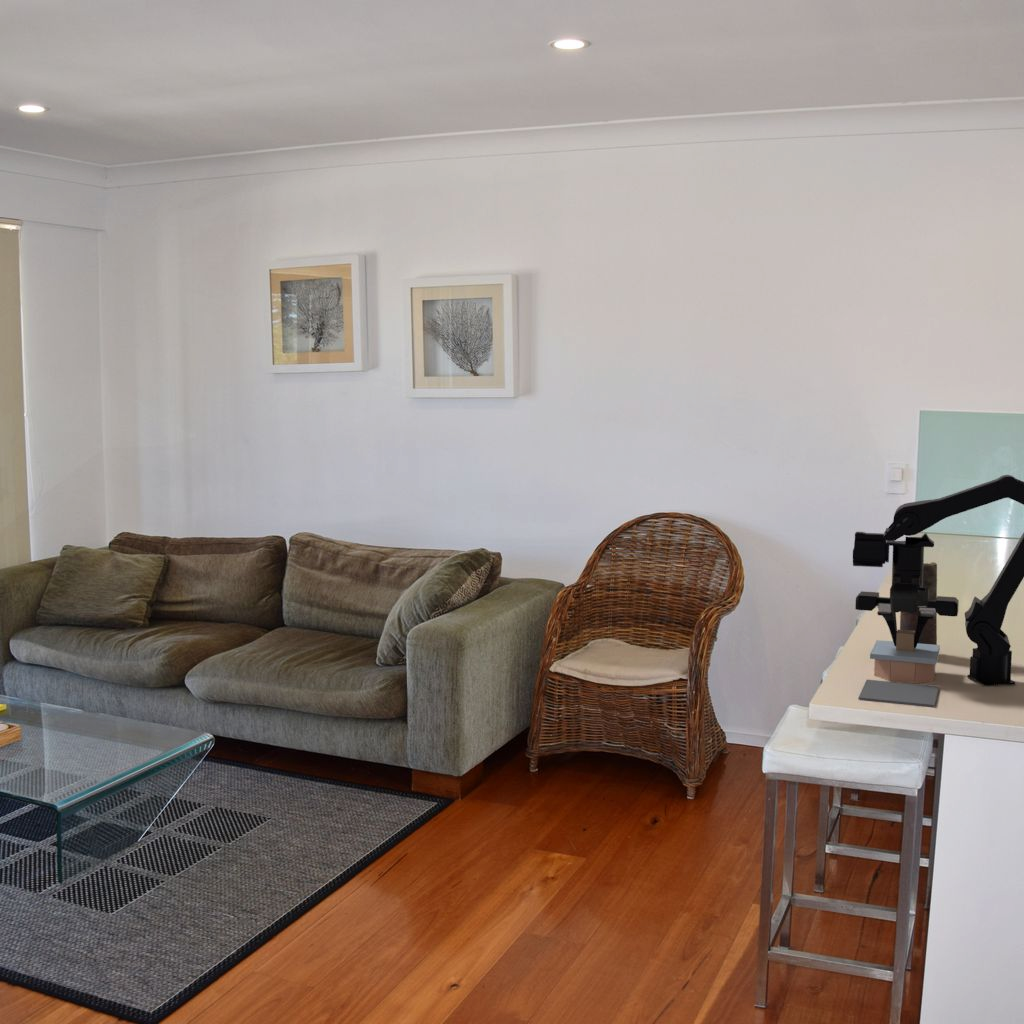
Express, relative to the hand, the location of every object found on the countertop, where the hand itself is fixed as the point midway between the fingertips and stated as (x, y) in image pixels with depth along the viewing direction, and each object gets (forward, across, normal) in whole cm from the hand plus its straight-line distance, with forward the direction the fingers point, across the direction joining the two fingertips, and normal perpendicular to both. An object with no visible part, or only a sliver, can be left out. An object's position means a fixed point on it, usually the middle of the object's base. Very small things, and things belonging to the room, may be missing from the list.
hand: (905, 646), depth 218 cm
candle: (+6, +1, +18) cm, 19 cm away
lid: (+2, 0, 0) cm, 2 cm away
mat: (+6, 0, -14) cm, 15 cm away
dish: (+6, 0, 0) cm, 6 cm away
